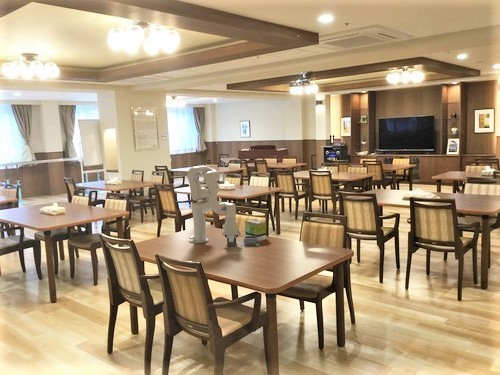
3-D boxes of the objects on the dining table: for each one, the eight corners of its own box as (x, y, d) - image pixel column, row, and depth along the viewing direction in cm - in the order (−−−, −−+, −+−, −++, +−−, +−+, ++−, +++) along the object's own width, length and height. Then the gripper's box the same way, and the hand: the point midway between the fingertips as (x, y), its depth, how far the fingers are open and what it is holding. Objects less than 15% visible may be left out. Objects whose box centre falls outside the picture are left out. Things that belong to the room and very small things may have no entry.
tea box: (244, 238, 356) (244, 220, 355) (254, 236, 363) (253, 218, 361) (257, 241, 345) (257, 223, 343) (266, 239, 352) (266, 221, 350)
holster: (225, 247, 331) (225, 242, 330) (227, 244, 340) (227, 239, 339) (236, 247, 330) (236, 242, 330) (237, 244, 339) (237, 239, 338)
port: (240, 246, 331) (240, 239, 331) (242, 242, 343) (241, 235, 342) (259, 246, 330) (258, 239, 329) (260, 242, 342) (259, 235, 341)
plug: (228, 245, 333) (228, 234, 332) (229, 244, 337) (229, 233, 336) (234, 245, 333) (233, 234, 331) (234, 244, 337) (234, 233, 335)
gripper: (219, 220, 329) (220, 244, 331) (241, 220, 328) (242, 244, 330) (220, 218, 337) (221, 242, 339) (242, 218, 335) (243, 242, 338)
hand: (231, 243), depth 335 cm, fingers closed on plug, 4 cm apart
